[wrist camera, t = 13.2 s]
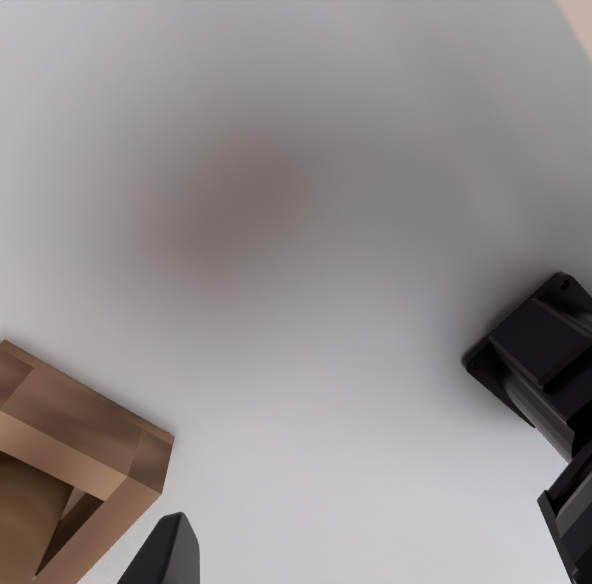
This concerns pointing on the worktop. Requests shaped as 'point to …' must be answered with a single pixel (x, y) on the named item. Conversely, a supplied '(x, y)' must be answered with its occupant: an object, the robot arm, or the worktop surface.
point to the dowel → (27, 517)
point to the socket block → (80, 458)
